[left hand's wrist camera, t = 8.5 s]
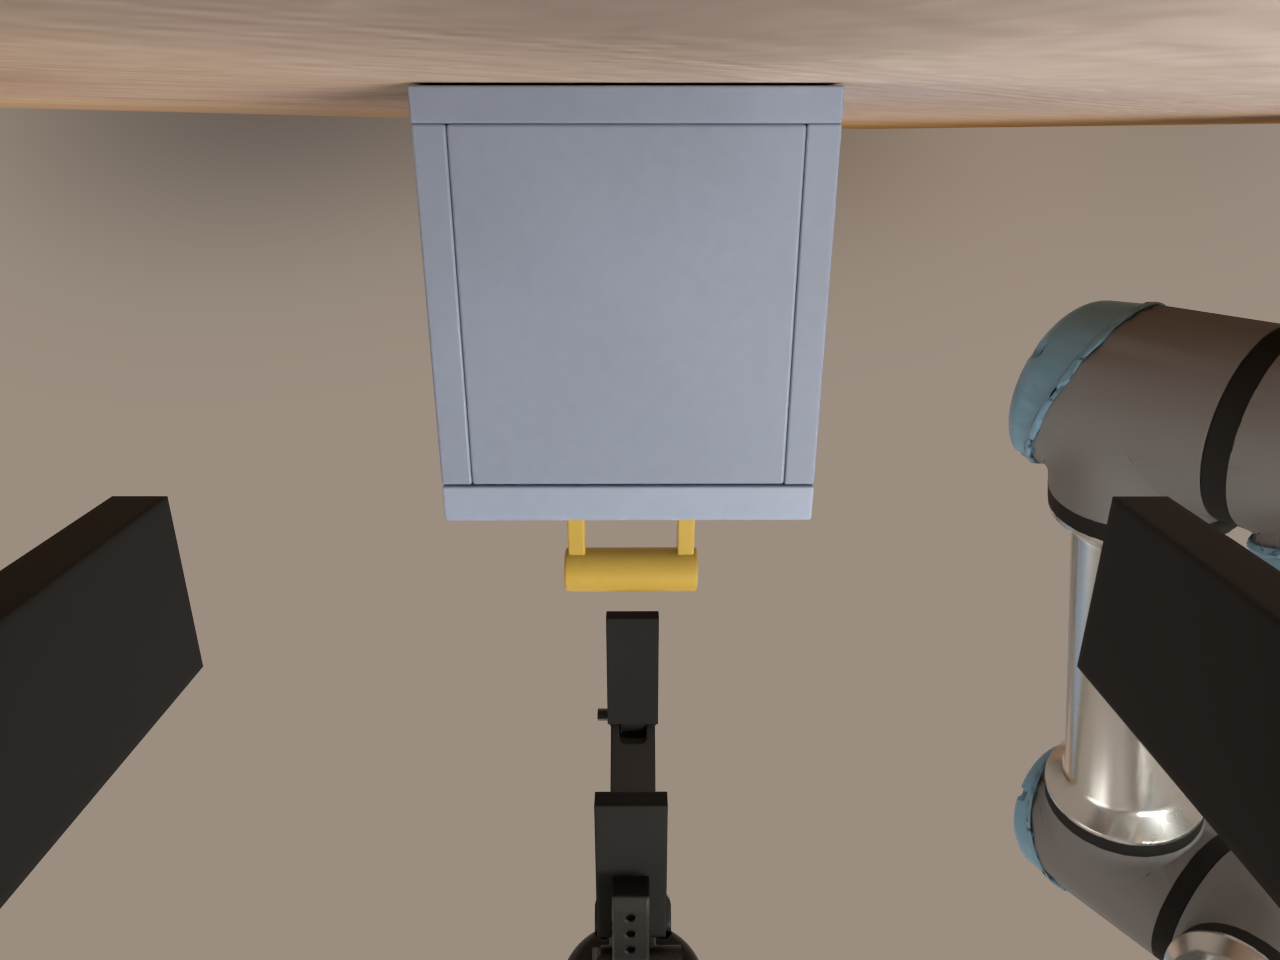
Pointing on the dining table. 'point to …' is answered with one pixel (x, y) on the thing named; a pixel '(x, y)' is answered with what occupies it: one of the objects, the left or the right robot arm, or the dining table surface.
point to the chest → (627, 279)
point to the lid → (629, 503)
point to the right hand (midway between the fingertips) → (631, 690)
